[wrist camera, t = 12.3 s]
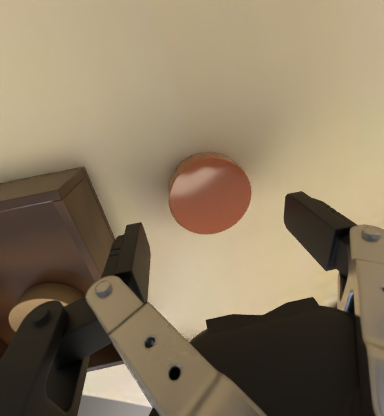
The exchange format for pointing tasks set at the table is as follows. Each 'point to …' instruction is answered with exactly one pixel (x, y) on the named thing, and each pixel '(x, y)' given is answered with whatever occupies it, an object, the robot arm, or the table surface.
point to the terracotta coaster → (208, 193)
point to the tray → (52, 243)
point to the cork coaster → (41, 300)
